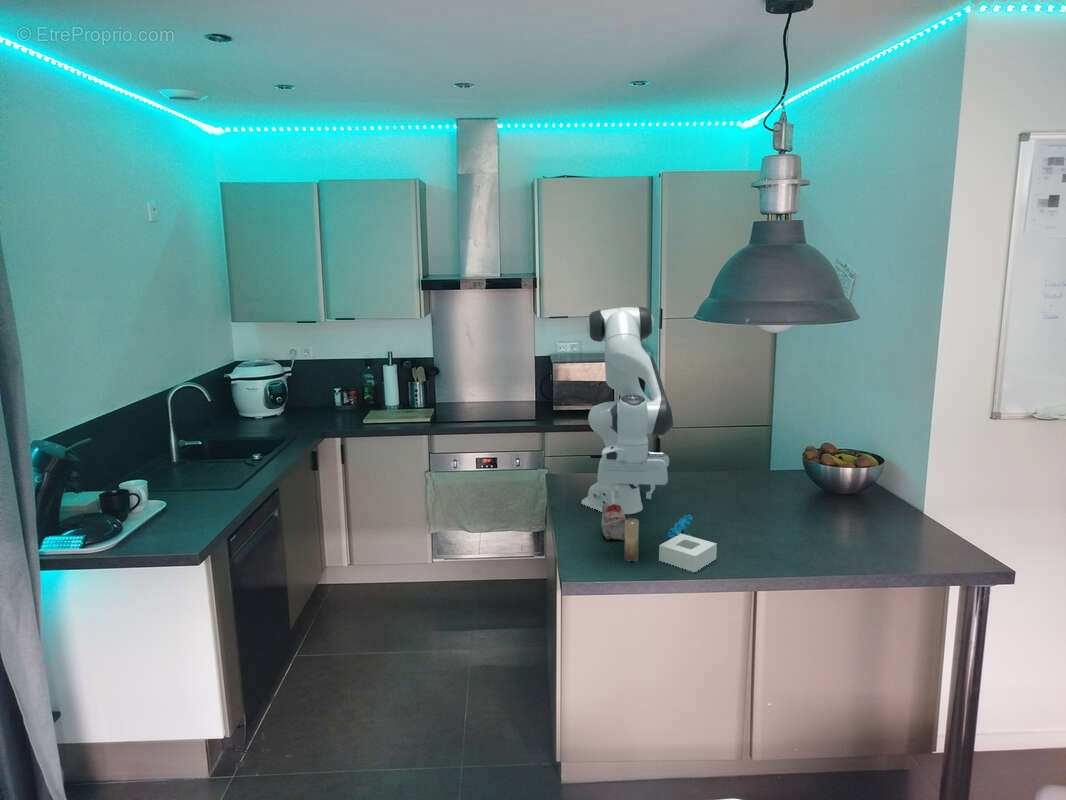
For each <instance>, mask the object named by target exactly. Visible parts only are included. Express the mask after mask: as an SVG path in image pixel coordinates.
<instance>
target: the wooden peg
mask: <svg viewBox="0 0 1066 800" xmlns="http://www.w3.org/2000/svg"><path fill="white" fill-rule="evenodd" d="M639 525H640V521H639V519H637V518H633V517H628V518H626V519H625V539H624V560H625V559H626V560H630V561H635V560H637V559H638V560H639V534H640V533H639V531H640V529H639V527H640V526H639ZM626 560H625V561H626ZM638 560H637V561H638ZM635 562H636V561H635Z"/></svg>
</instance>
